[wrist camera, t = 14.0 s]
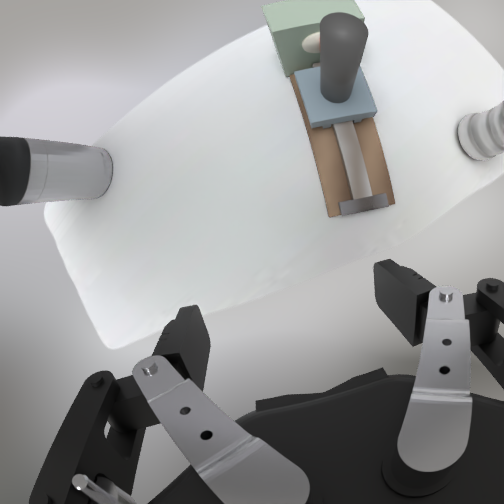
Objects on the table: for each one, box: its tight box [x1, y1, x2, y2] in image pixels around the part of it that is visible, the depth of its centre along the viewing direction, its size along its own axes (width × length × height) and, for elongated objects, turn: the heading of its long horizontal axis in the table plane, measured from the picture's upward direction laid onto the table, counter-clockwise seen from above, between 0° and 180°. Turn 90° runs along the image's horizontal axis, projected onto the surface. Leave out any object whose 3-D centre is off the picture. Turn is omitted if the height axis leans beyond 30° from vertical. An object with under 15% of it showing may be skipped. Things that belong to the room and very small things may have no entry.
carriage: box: [294, 12, 377, 129], centre depth 22 cm, size 8×7×17 cm
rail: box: [289, 62, 395, 217], centre depth 31 cm, size 9×20×3 cm, turn 14°
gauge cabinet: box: [261, 0, 365, 77], centre depth 25 cm, size 10×5×12 cm, turn 104°
